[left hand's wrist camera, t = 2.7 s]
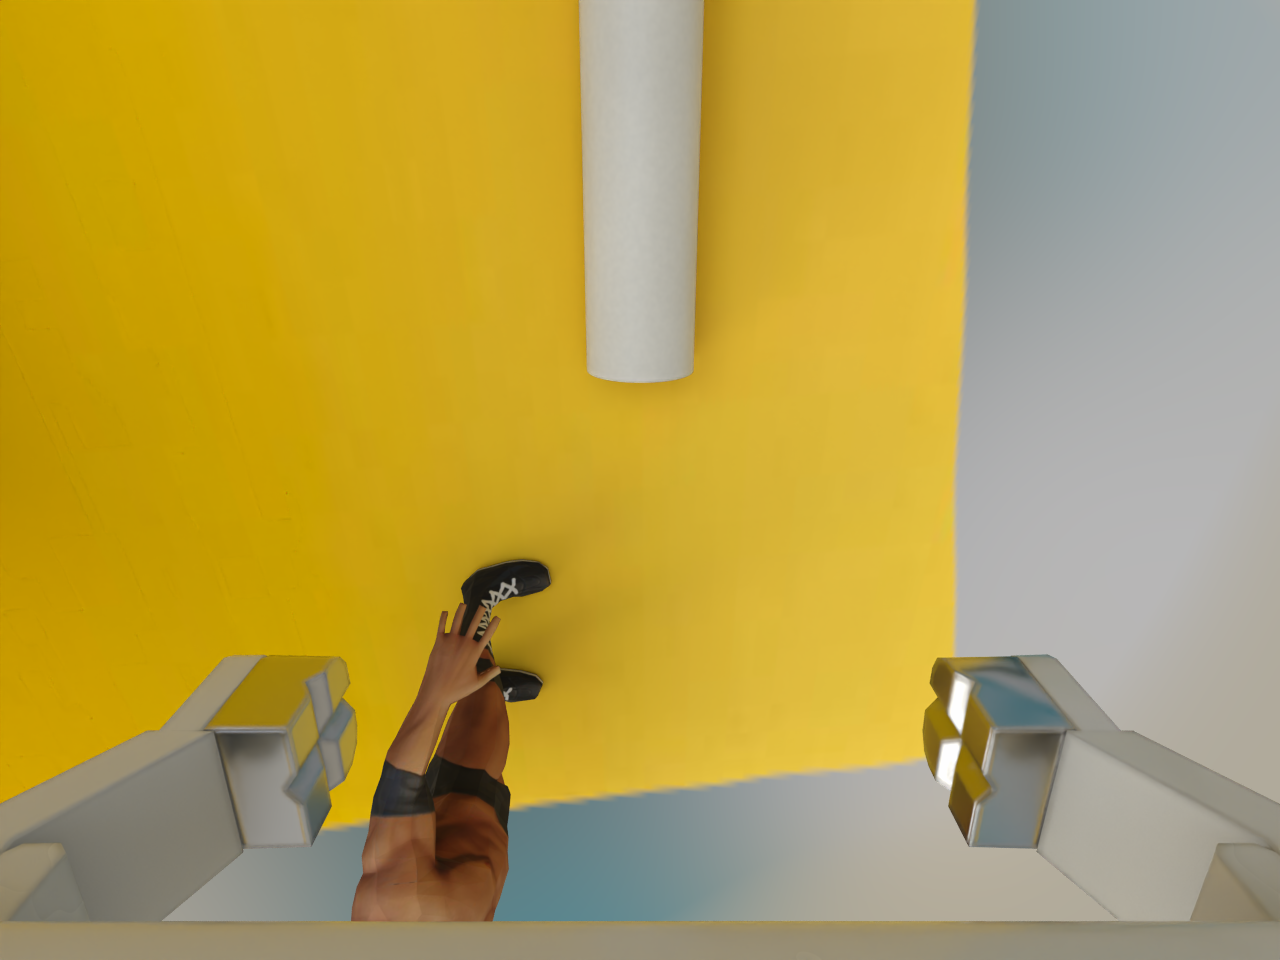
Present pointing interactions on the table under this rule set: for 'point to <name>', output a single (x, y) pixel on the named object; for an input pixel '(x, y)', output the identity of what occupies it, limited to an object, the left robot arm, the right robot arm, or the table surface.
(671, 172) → the rod
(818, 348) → the table surface
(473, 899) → the figurine
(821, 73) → the table surface
